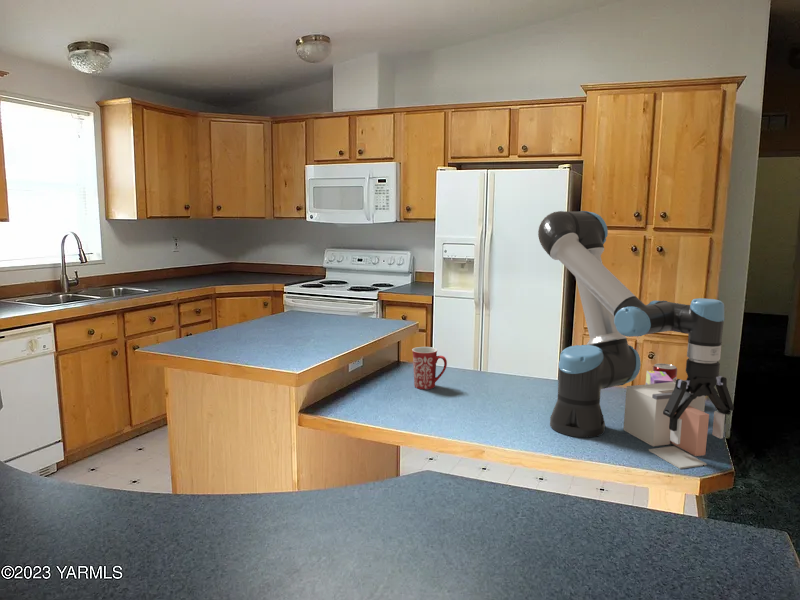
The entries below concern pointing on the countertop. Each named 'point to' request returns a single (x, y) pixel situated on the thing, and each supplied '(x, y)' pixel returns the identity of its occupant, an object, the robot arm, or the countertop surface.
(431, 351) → the mug
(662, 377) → the box
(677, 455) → the mat
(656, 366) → the soda can
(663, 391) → the dispenser
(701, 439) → the salmon pink slab
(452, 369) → the countertop surface
